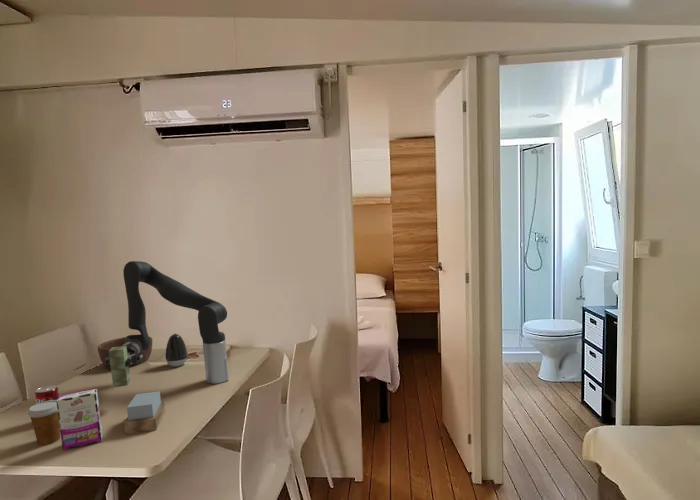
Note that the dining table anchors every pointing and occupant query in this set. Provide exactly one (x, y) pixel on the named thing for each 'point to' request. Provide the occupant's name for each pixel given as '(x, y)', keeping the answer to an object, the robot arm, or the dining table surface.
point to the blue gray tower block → (144, 405)
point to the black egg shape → (176, 351)
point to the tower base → (145, 422)
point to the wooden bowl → (106, 346)
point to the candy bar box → (79, 419)
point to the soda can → (46, 394)
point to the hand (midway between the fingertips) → (118, 365)
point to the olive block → (119, 366)
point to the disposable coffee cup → (45, 422)
